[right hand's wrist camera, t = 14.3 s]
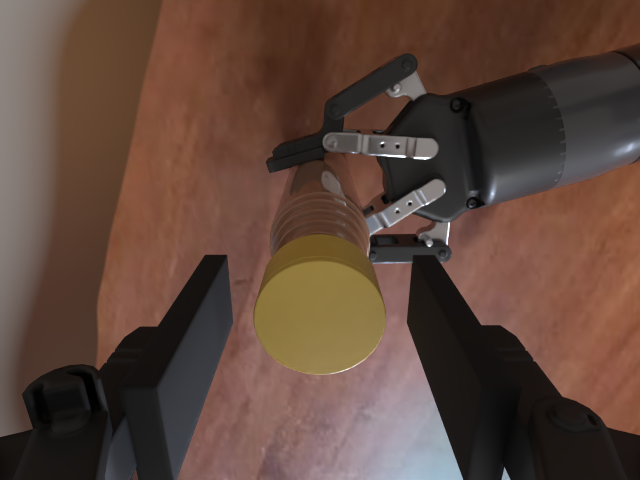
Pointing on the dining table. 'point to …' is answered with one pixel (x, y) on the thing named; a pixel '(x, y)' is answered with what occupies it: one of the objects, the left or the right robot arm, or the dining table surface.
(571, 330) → the dining table surface
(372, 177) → the dining table surface
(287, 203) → the bottle
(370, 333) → the cap
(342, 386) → the dining table surface
